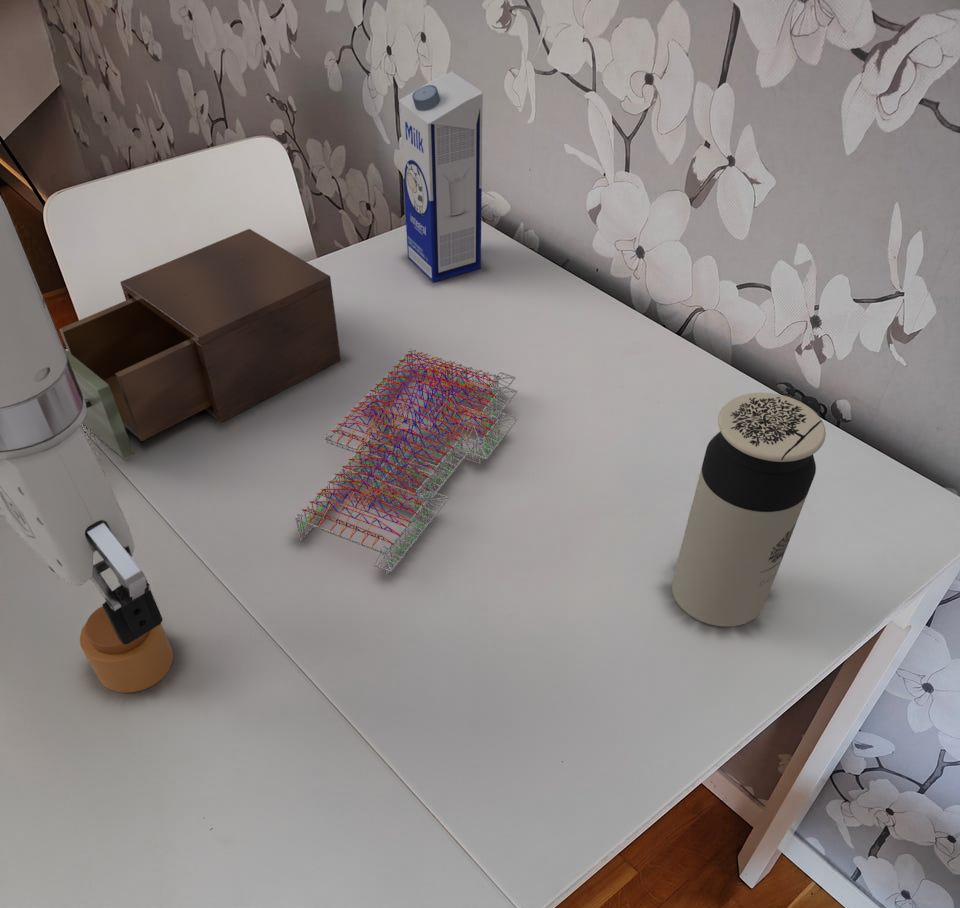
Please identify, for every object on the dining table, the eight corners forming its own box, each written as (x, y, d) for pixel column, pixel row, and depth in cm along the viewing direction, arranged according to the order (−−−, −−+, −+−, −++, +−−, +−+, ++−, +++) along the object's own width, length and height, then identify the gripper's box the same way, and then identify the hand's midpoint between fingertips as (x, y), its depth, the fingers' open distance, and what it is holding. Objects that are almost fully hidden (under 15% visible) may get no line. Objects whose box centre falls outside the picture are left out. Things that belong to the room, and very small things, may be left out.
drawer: (77, 483, 84) (46, 414, 78) (12, 423, 90) (-21, 354, 84) (248, 395, 93) (233, 327, 87) (180, 345, 98) (161, 278, 92)
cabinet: (220, 423, 92) (198, 337, 84) (146, 366, 98) (119, 281, 90) (341, 360, 99) (330, 276, 91) (265, 311, 105) (249, 228, 97)
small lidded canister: (80, 669, 72) (58, 629, 68) (138, 623, 75) (120, 582, 71) (131, 705, 69) (111, 666, 66) (189, 655, 73) (173, 615, 69)
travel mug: (651, 589, 78) (692, 417, 64) (712, 547, 81) (763, 376, 67) (722, 644, 74) (782, 475, 60) (783, 598, 77) (853, 428, 63)
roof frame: (399, 592, 77) (395, 550, 73) (254, 535, 81) (243, 492, 77) (542, 403, 94) (546, 360, 90) (417, 364, 98) (414, 321, 94)
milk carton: (481, 269, 111) (483, 90, 96) (433, 283, 109) (427, 103, 93) (453, 244, 115) (451, 68, 99) (407, 257, 113) (397, 80, 97)
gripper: (-114, 364, 55) (2, 561, 68) (22, 500, 47) (123, 693, 60) (2, 316, 58) (91, 513, 71) (148, 436, 50) (217, 631, 64)
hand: (106, 595), depth 66 cm, fingers open, 9 cm apart
